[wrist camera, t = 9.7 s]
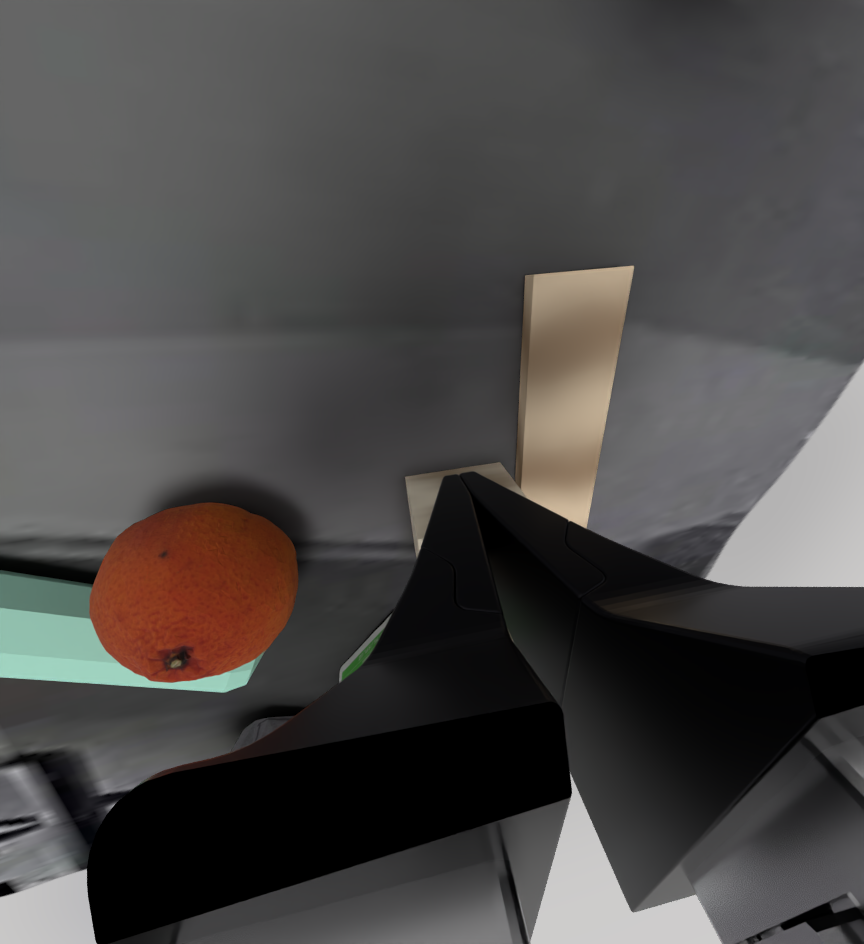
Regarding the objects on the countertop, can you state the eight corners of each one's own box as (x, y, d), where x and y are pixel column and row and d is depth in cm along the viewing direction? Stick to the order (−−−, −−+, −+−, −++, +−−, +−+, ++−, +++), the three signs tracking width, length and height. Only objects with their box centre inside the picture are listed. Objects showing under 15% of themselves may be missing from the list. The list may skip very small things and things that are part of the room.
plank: (525, 275, 16) (533, 274, 16) (620, 266, 17) (634, 265, 16) (505, 672, 32) (509, 683, 32) (555, 662, 33) (560, 672, 32)
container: (255, 696, 19) (-648, 635, 10) (245, 708, 23) (-411, 673, 14) (285, 591, 23) (-347, 481, 14) (272, 617, 27) (-229, 544, 18)
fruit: (313, 486, 20) (285, 592, 13) (301, 595, 24) (274, 722, 17) (135, 464, 18) (-14, 578, 11) (153, 588, 21) (50, 732, 14)
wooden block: (504, 460, 21) (547, 516, 16) (502, 535, 24) (539, 602, 19) (404, 476, 21) (417, 539, 16) (415, 550, 24) (428, 624, 18)
